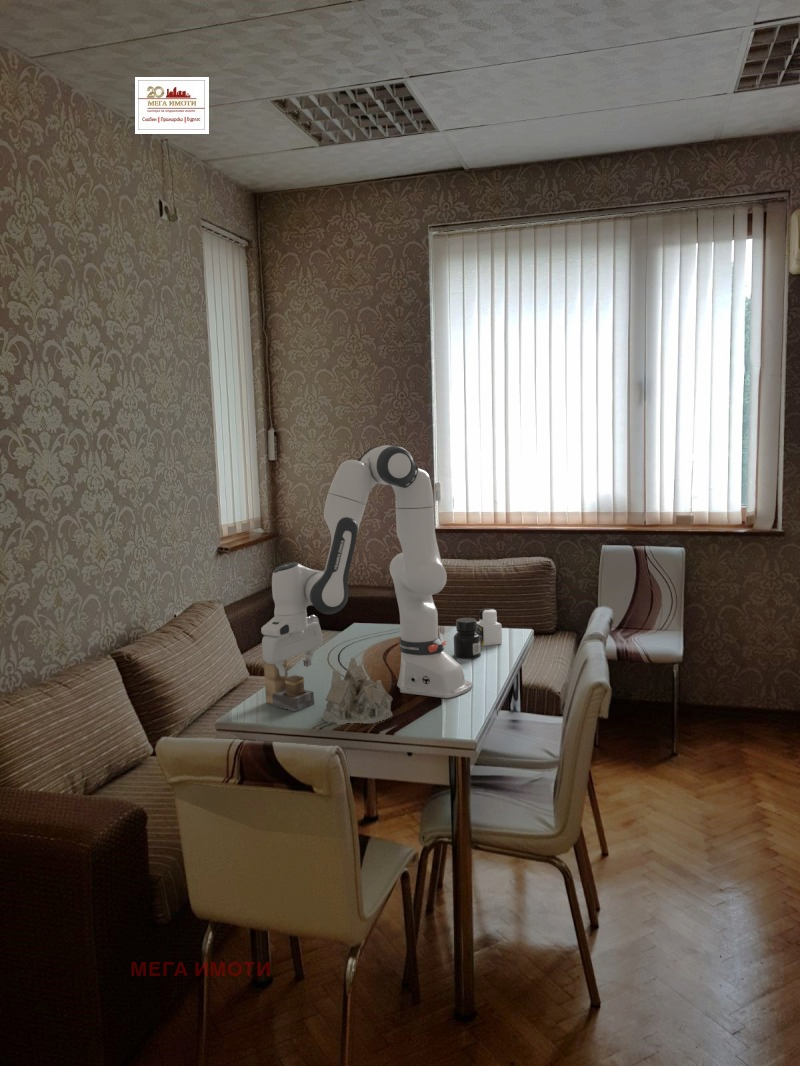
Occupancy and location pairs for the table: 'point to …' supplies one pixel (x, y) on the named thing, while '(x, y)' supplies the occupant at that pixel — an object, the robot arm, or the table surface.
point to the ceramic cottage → (356, 698)
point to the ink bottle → (466, 639)
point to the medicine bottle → (489, 627)
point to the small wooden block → (294, 686)
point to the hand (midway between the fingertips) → (295, 670)
